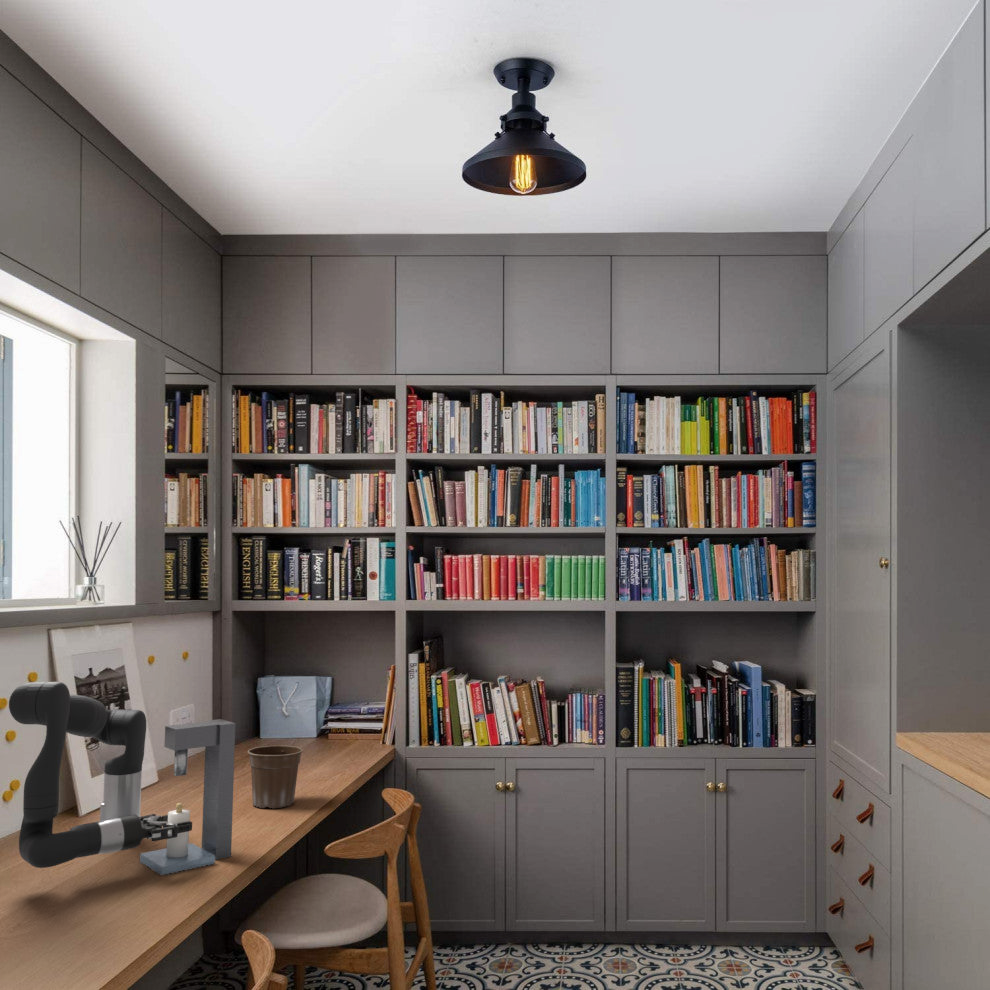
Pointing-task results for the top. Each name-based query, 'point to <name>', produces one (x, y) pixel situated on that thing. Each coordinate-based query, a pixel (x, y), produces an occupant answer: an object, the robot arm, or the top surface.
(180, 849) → the white cylinder
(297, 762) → the plant pot
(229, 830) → the press
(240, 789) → the top surface
